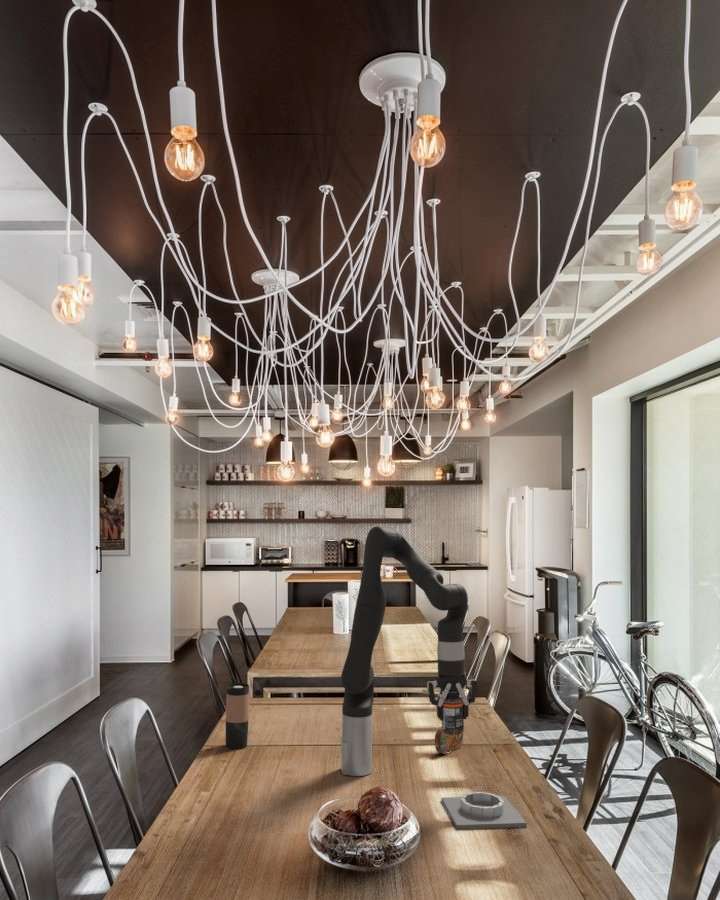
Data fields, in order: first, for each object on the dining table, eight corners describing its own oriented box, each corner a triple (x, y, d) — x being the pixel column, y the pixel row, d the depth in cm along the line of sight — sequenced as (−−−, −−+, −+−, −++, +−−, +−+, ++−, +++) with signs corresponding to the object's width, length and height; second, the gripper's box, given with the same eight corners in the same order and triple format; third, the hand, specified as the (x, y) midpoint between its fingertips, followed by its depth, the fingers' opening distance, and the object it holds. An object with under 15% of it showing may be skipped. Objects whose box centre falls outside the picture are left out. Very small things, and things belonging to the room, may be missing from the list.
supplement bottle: (449, 728, 205) (448, 686, 206) (468, 731, 201) (466, 689, 202) (438, 733, 200) (437, 690, 201) (456, 736, 197) (455, 693, 198)
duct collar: (467, 818, 187) (467, 808, 187) (456, 802, 198) (456, 792, 198) (508, 817, 188) (508, 807, 188) (496, 801, 199) (496, 791, 199)
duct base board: (457, 829, 183) (457, 825, 183) (441, 801, 201) (441, 797, 201) (526, 826, 185) (526, 822, 185) (504, 799, 203) (504, 795, 203)
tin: (441, 757, 238) (441, 730, 238) (432, 755, 239) (432, 729, 240) (463, 746, 250) (463, 720, 250) (455, 744, 251) (455, 719, 252)
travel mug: (250, 743, 249) (251, 683, 251) (244, 750, 242) (246, 688, 244) (228, 742, 250) (230, 682, 252) (222, 749, 243) (223, 687, 244)
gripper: (472, 653, 207) (474, 714, 206) (422, 655, 205) (424, 717, 204) (479, 658, 200) (481, 721, 198) (428, 660, 198) (430, 724, 196)
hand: (452, 719), depth 201 cm, fingers closed on supplement bottle, 6 cm apart
